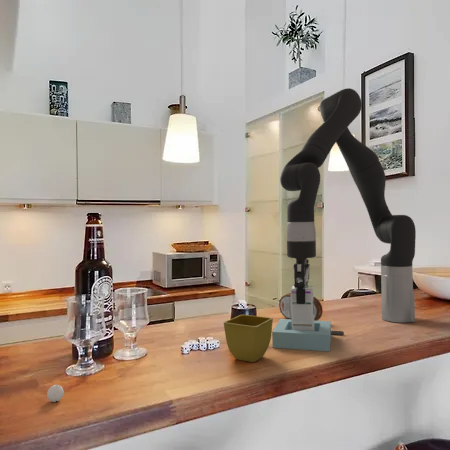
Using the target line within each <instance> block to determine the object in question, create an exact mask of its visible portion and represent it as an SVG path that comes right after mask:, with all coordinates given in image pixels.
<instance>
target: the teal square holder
mask: <svg viewBox="0 0 450 450" xmlns="http://www.w3.org/2000/svg"><path fill="white" fill-rule="evenodd" d="M331 324H332V323H331V320H330V321H329V320H317V321H314V327H315V331H301V330H292V322H291V319H287V318H280V319H279V321H277V323H276V325H275V326H274V328H273V329H272V332H271V340H272V343H271V344H272V348H273V349H275V348H276V349H285V350H286V349H288V350H301V351H317V352H331V344H332V343H331V341H332V340H331V339H332V334H331V331H332V325H331Z"/></svg>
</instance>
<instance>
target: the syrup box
mask: <svg viewBox="0 0 450 450" xmlns="http://www.w3.org/2000/svg"><path fill="white" fill-rule="evenodd" d="M289 293H291V322H292V330H301V331H315V327H314V300H313V297H314V287H313V286H312V285H308V286H307V285H306V288H305V304H297V302H296V289H295V286H294V285H292V286H291V288H290V292H289Z"/></svg>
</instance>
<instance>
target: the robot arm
mask: <svg viewBox="0 0 450 450" xmlns="http://www.w3.org/2000/svg"><path fill="white" fill-rule="evenodd" d="M361 99H362V98H361V96H360V94H359V93H358V91H356V90H355V89H353V88H343V89H341V90H339V91H337V92H335V93H332V94H331V95H329V96H328V97H325V98H323V100H322V101H321V102H320V104H319V111H320V112H319V113H320V116H321V118H322V121H323V123H322V124H320V126H319V127H317V128H316V130H315V131H313V133H312V134H311V135H310V136H309V137H308V139H307V140H306V142H305V143H304V144H303V147H302V149H301V150H300V151H299V152H298V153H297V154H295V155H294V156H293V157H292V158H291V159H290V160H289V161H288V162H287V163H286V164H285V165H284V166H283V167H282V170H281V173H280V176H279V180H280V181H279V182H280V185H281V187H282V188H283V189H284V190H285V191H288V192H298V191H299V194H298V197H297V198H295V199H292V200H289V202H287V205H286V206H287V207H286V211H287V212H286V215H287V216H286V217H287V218H286V219H287V220H286V222H287V226H286V255H287V258H289V259H295V263H294V264H293V267H292V268H293V281H294V285H293V286H295V289H296V302H297V304H305V288H306V285H307V286H309V283H310V282H309V280H310V270H311V266H310V263H309V262H310V261H309V259H314V258H316V257H317V238H316V237H317V235H316V233H317V232H316V224H315V206H316V205H315V204H316V199H317V196H318V191H319V188H320V184H321V183H320V182H321V172H320V168H321V167H322V165H323V164H324V163H325V160H326V159H327V158H328V156H329V154H330V152H331V150H332V149H333V147H334V146H335V144H336V145H337V147H338V150H339V151H340V152H341V153H340V154H341V155H342V157H343V159H344V161H345V164H346V165H347V168H348V171H349V172H350V176H351V178H352V180H353V181H354V184H355V185H356V188H357V189H358V192H359V194H360V196H361V197H360V198H361V199H362V202H363V204H364V205H365V208H366V210H367V213H368V215H369V219H370V222H371V227H372V228H373V231H374V234H375V236H376V237H377V239H378V240H379V241H380V242H382V243H384V244H389V245H390V249H389V251H388V252H387V253H385V254H384V255H382V256H381V258H380V278H381V279H380V280H381V281H380V285H381V286H380V287H381V290H380V291H381V292H380V293H381V319H383V321H386V322H390V323H401V324H402V323H415V322H416V314H415V313H416V311H415V310H416V309H415V305H416V304H415V291H414V287H413V286H414V284H413V283H414V281H413V280H414V279H413V277H414V276H413V262H414V258H415V257H416V256H415V255H416V238H417V237H416V235H417V234H416V225H415V223H414V222H415V221H414V220H413V219H412V218H411V217H410V216H409V215H406V214H392V212H391V211H390V208H389V207H388V205H387V202H386V201H387V200H386V196H385V190H386V180H387V179H386V173H385V170H384V167H383V165H382V163H381V161H380V158H379V156H378V155H377V154H376V152H374V150H372V149H371V148H370V147H368V146H367V145H365V143H363V142H362V141H360V140H359V139H357V138H356V137H355V136H354V135H353V133H351V131H350V129H349V126H350V125H351V124H352V123H353V122H354V120H355V119H356V118H357V117H358V116H359V115H360V113H361V110H362V105H363V104H362V100H361Z"/></svg>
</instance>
